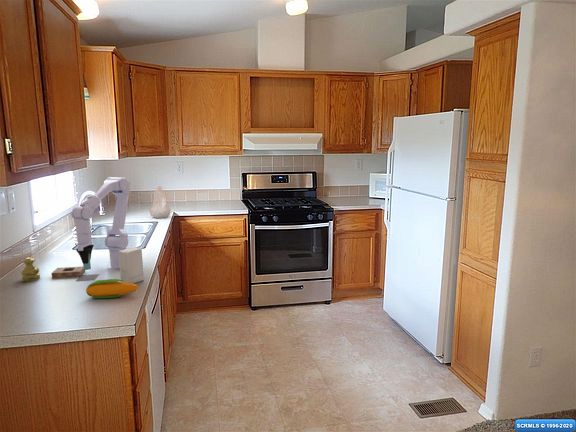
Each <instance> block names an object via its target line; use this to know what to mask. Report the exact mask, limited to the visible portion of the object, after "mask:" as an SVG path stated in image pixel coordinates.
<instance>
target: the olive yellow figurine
mask: <svg viewBox="0 0 576 432" xmlns="http://www.w3.org/2000/svg"><path fill="white" fill-rule="evenodd" d="M35 262H36V259H35V258H34V257H32V258H31V257H27V258H24V259H23V260H22V262H21V263H23V264H24V266H25V267H23V268H22V269H21V270H20V274H21V276H20V279H21V281H22V282H25V283H29V282H34V281H38V280H40V278H41V273H40V268H39V267H36V266H35V265H34V263H35Z"/></svg>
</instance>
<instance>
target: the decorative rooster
mask: <svg viewBox="0 0 576 432" xmlns="http://www.w3.org/2000/svg"><path fill="white" fill-rule="evenodd" d="M170 214H171V207H170V205H168V203H167V196H166V192H165V191H164V190H163V188H162V186H161V185H158V186H157V187H156V189H155V190H154V191H153V200H152V204H151V207H150V208H149V215H150V216H151V217H153V218H154V219H155V218H156V219H166V218H168V217H169V216H170ZM165 217H166V218H165Z"/></svg>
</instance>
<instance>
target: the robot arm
mask: <svg viewBox="0 0 576 432" xmlns="http://www.w3.org/2000/svg"><path fill="white" fill-rule="evenodd" d="M130 187H131V182H130V181H129V179H128V178H127V177H124V176H123V177H113V176H108V177H107V178H106V179H105V180H104V181H103V184H102V186H101V187H100V188H99V189H98V190H97V191H96V192H95V193H94V194H90V195H88V196H86V199H84V200H83V201H82V202H81V203H80V204H79V205H77V206H74V207H73V209H72V210H71V212H70V215H71V217H72V218H73V221H74V224H75V231H76V242H74V245H75V246H77V248H76V249H75V250H76V253H78V256H79V257H80V259H81V262H82V265H83V264H88V261H89V253H90V261H91V258H92V251H93V248H94V246H95V245H94V244H93V240H92V231H91V230H92V229H91V221H90V219H91V218H92V216H93V213H94V211H95V210H96V209H97V208H98V207H99V206H100V205H101V200H102V199H104V198H105V197H106V196H107V195H108V194H110V193H112V194H113V195H114V196H115V197H116V200H115V201H116V202H115V206H114V207H115V208H114V213H113V214H114V215H113V221H112V228H111V229H110V230H109V231H108V232H107V233H106V237H105V239H104V245H105V247H107V249H108V251H109V263H110V265H109V266H108V268H107V269H108V270H109V269H120V265H119V254H118V251H121V250H124V249H127V247H128V245H129V239H128V236H129V234H128V233H127V232H126V231H125V225H126V218H127V211H128V203H129V198H130V197H129V196H130V189H131V188H130Z"/></svg>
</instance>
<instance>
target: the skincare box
mask: <svg viewBox="0 0 576 432" xmlns="http://www.w3.org/2000/svg"><path fill="white" fill-rule="evenodd" d="M142 250H143V249H142V248H140V247H136V246H132V247H128V248H126V249H124V250H121V251H118V254H119V265H120V268H119V274H120V280H123V281H120V282H125V283H133V284H136V283H139V282H142V281H144V280H145V278H144V277H145V274H144V265H143V264H144V263H143V262H144V261H143V251H142Z"/></svg>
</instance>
